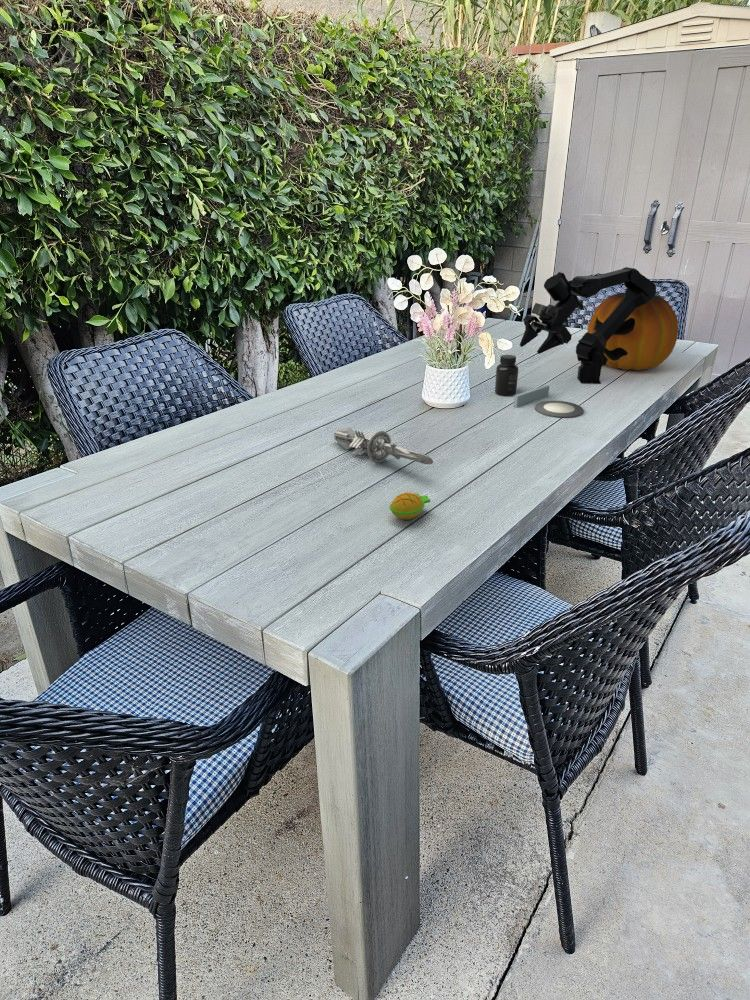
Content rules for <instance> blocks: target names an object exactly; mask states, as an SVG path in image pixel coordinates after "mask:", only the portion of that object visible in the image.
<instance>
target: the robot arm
mask: <svg viewBox="0 0 750 1000" xmlns="http://www.w3.org/2000/svg"><path fill="white" fill-rule="evenodd" d="M622 284H623V285H624V286H625V287H626V289H625V292H624V293H625V297H624V300H623V301H622V302H621V303H620V304H619V305H618V306H617V308H616V309H615V310H614V311H613V312H612V313H611V314H610V316H609V317H608V318H607V319H606V320H605V321H604V322H603V324H602V325H601V326H600V327H599V328H598V329H597V330H596V331H595V332H594V333H592V334H591V333H588V332H587V331H586V332H585V333H584V334H583V335H582V337H581V338H580V339H578V340H577V342H578V343H577V344H576V345H575V354H576V357H577V361H579V362H580V365H579V366H578V368H577V379H578V381H579V382H580V384H593V385H594V384H597V385H598V384H599V385H600V384H601V383H602V382H601V380H600V379H601V374H602V367H604V366H606V363H607V360H608V359H607V358H606V356H605V355H604V353H603V352H604V351H605V349H606V344H607V341H608V340H609V338H610V337H611V336H612V335H613V334H614V333H615V332H616V330H617V329H618V328H619V327H620V326H621V325H622V324H623V322H624V321H625V320H626V319H627V318H628V317H629V316H630V314H631V313H632V312H633V311H634V310H635V309H636V308H637V307H639V306H642V305H644V304H646V303H647V302H648V301H649V300H650V299H652V298H653V297H654V295H657V285H656V283H655V282H654V281H651V280H650V279H649V278H648V277H646V276H644V275H643V274H642V273H641V272H640V271H639V270H638V269H636V268H635V267H634V268H633V267H629V266H624V267H623V268H621V269H618V270H617V269H615V270H613V271H609V272H606V273H602V274H598V275H577V276H574V277H573V278H572V280H568V279H567V277H566V274H564V272H561V271H558V272H557V274H554V275H552V276H550V277H548V278H547V279H546V280H545V282H544V283H543V289H545V291H546V292H547V293H548V295H549V296H550V298H551V299H552V300H553V301H554V302H556V303H555V305H553V304H550V303H549V304H548V305H547V306H546V305H544V304H542V303H539V302H538V303H537V302H535V303H534V305H533V307H532V309H531V312H530V313H531V314H527V315H525V317H523V319H522V321H523V325H524V326H525V327H524V328H525V330H524V333H523V335H522V338H521V340H520V343H519V347H521V348H523V347H525V346H526V345H527V344H528V343H530V342H531V341H533V339H536V337H538V336H539V333H541V332H542V331H545V332H547V337H546V339H545V340H544V341H543V342H542V344H541V345H540V346H539V347H538V349H537V351H536V353H537V354H538V355H540V354H543V353H545V352H547V351H549V350H551V349H553V348H556V347H559V346H561V345H564V344H566V345H568V344H569V343H570V342H571V340H572V336H573V335H572V333H571V332H570V331H569V329H568V328H567V327H566V325H563V324H564V323H565V324H568V323H569V322H570V320H569V318H570V317H571V315H572V314H573V313H574V312H575V310H579V311H580V310H581V311H583V310H584V300H581V299H579V297H581V298H586V299H588V298H591V297H593V296H595V295H598V293H599V292H600V291H602V290H604V289H608V288H611V287H616V286H619V285H622ZM533 314H534V315H533ZM535 315H536V316H535ZM537 316H538V317H537Z"/></svg>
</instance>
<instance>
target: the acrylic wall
mask: <svg viewBox="0 0 750 1000" xmlns="http://www.w3.org/2000/svg"><path fill="white" fill-rule="evenodd" d="M549 391H550V385H548V384H545V385H542V386H539V387H536V388H533V389H530V390H527V391H523V392H521V393H516V394H515V395H513V396H514V399H513V407H514V408H519V407H522V406H524V405H528V404H530V403H534V402H536V401H539V400H542V399H545V398H549Z"/></svg>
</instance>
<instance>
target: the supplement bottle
mask: <svg viewBox="0 0 750 1000" xmlns="http://www.w3.org/2000/svg"><path fill="white" fill-rule="evenodd" d="M516 362H517V356H516V355H512V354H502V355H500V360H499V364H497V367H496V369H495V384H494V392H495V394H496V395H497V396H499V397H500V396H501V397H513V396H515V395H517V389H518V380H519V379H518V378H519V366H518V365H517V364H516Z"/></svg>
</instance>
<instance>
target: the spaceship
mask: <svg viewBox="0 0 750 1000" xmlns="http://www.w3.org/2000/svg"><path fill="white" fill-rule="evenodd" d="M332 435H333V437H334V438H333V440H335V441H336V442H337V444H339V445H340V446H341V447H343V449H344V450H346V451H348V450H350V449H351V448H355V449H356V450H354V451H353V452H352V454H354V453H355V455H357V454H358V456H361V455H362V454H363V453H367V455H368V458H369V459H370V460H371V461H372V462H373V463H382V462H384V461H385V460H386V459H388V457H389V456H392V457H394V459H396V460H400V459H402V458H403V459H407V460H410V461H414V462H416V463H420V464H423V465H432V464H433V463H434V460H433V459H432V458H431V457H430V456H429V455H427V454H425V453H421V452H416V451H413V450H410V449H405V448H403V447H400V446H399V445H397V444H396V443H394V442H392V439H391V436H390V435H389V433H387V431H385V430H378V431H376V432H374V431H369V430H367V429H366V430H365V431H363V432H362V431H361V432H360V431H357V430H353V428H352V427H347V428H341V429H339V430H335V431H334V432H333V433H332ZM355 435H356V436H355ZM358 447H359V448H358ZM376 452H377V453H376Z"/></svg>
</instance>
